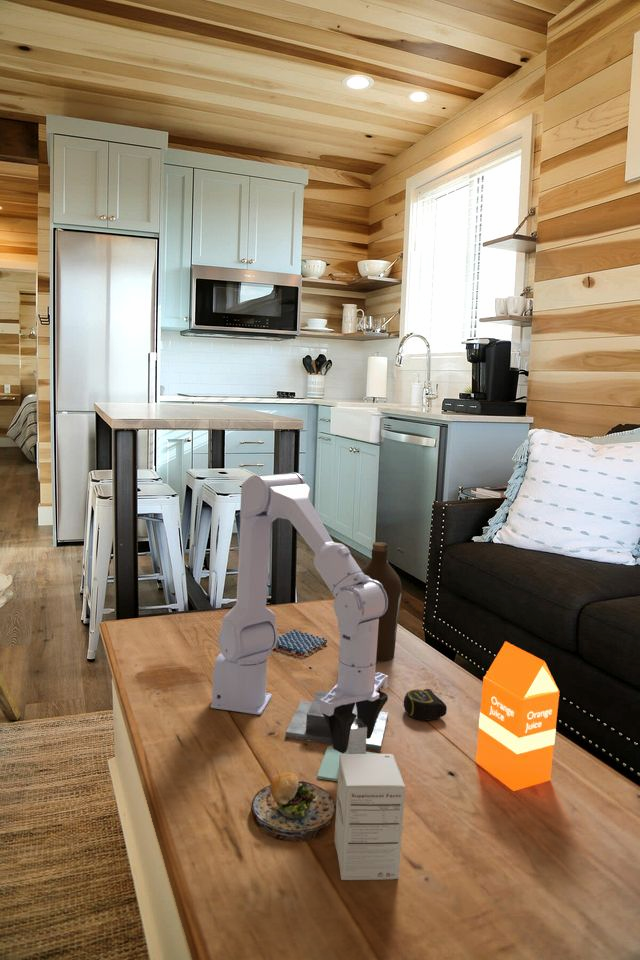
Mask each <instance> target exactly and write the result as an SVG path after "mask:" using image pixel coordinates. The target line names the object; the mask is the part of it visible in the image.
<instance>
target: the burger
mask: <svg viewBox="0 0 640 960" xmlns="http://www.w3.org/2000/svg"><path fill="white" fill-rule="evenodd" d="M274 768H275V770H276V773H277V776H275V778H274V779H273V780H272V782H271V784H269V785H267V786H265V787H263V788H261V789H260V790H259V791H257V792H256V794H255V795H254V797H253V798H252V800H251V807H250V819H251V822H252V824H253V825H254V827H255V828H256V829H257V830H258V831H259V832H260V833H262V834H264V836H266V837H269V838H272V839H274V840H278V841H282V842H287V843H302V842H305V841H306V842H307V841H308V842H309V841H313V840H315V837H316V836H317V833H319V830H321V829H322V828H324V827H326V826H327V825H328V826H329V824H330V823H331V821H332V818H333V817H334V816H335V815H336V802H335V798H334V797H333V796H332V795H331V794H330V793H328V792H327V791H326V790H325V789H323V788H322V787H319V786H317V784H314V783H311V782H307V781H304V780H300V781H299V778H298V776H297V774H296V773H293V772H283V773H279V772H278V769H277V767H275V766H274Z"/></svg>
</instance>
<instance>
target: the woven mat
mask: <svg viewBox="0 0 640 960" xmlns="http://www.w3.org/2000/svg"><path fill="white" fill-rule="evenodd" d="M313 635H314V634H312V633H310V634H308V632H302V631H301V630H300V631H296V629H293V630H289V631H288V632H284V634H281V635H280V636H279V635H278V640H277V644H276V646H275V648H274V649H273V650H274V651H277V652H281V653H284V654H287V655H291V656H294V657H297V658H300V659H306V657H308V656H312V654H315V653H317V651H319V650H322V649H325V648H326V647H327V646H328V645H329V644H328V639H325V637H322V638H321V637H319V635H314V636H313Z"/></svg>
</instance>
